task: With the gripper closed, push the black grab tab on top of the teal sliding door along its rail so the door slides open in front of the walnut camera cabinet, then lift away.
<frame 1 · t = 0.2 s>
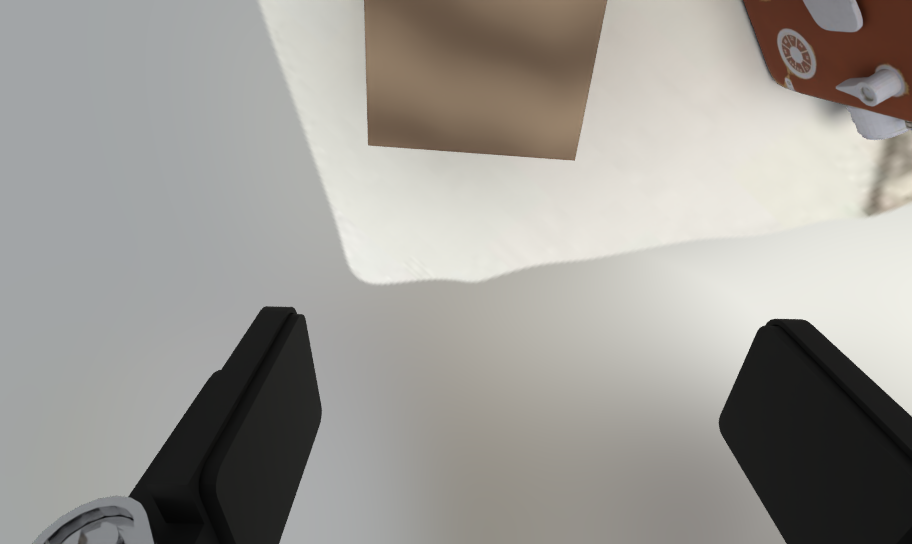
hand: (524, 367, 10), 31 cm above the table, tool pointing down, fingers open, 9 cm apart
cine camera: (797, 5, 33), on the table
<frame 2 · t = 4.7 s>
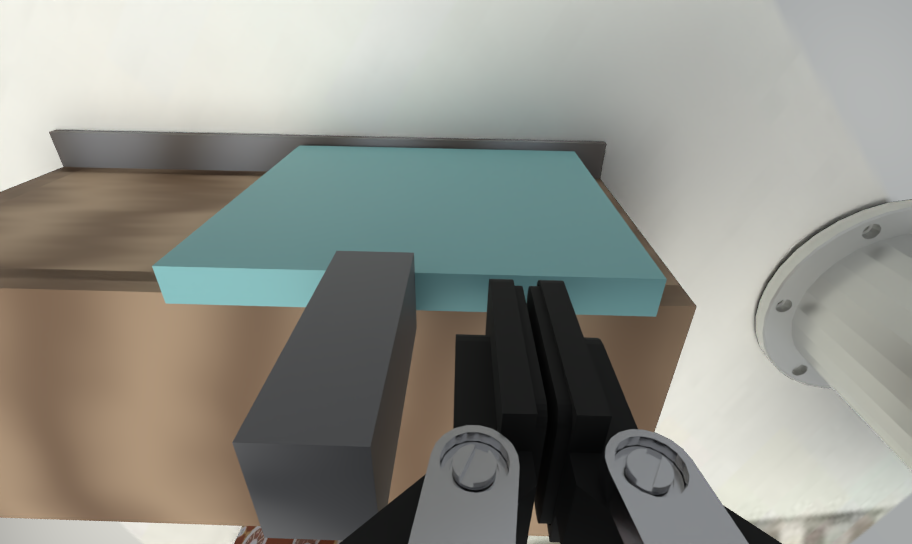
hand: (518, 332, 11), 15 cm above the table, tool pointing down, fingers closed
cabinet: (343, 269, 27), on the table
door: (419, 240, 15), point 10 cm above the table, slide at 1.2 cm, touching gripper
cine camera: (315, 500, 39), on the table
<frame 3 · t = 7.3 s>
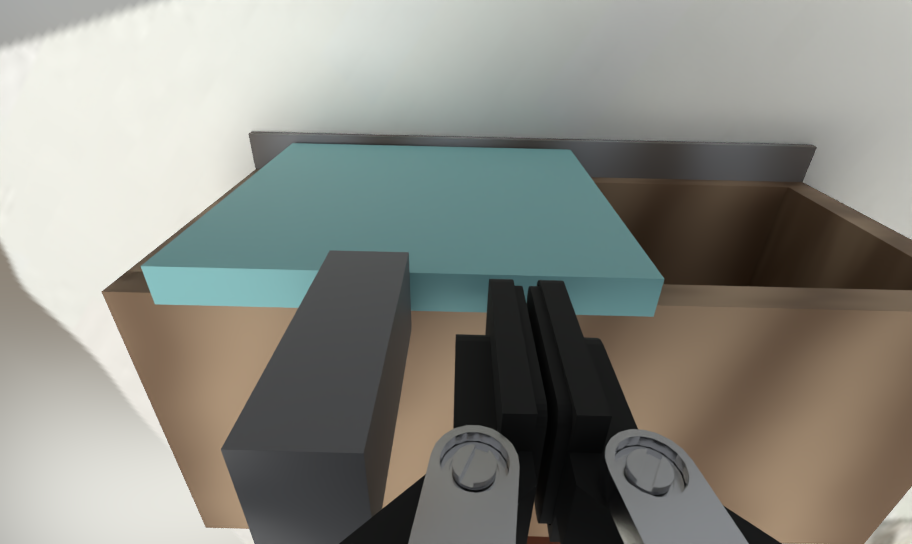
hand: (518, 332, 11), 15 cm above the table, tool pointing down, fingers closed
cabinet: (517, 272, 27), on the table
door: (413, 240, 15), point 10 cm above the table, slide at 11.7 cm, touching gripper
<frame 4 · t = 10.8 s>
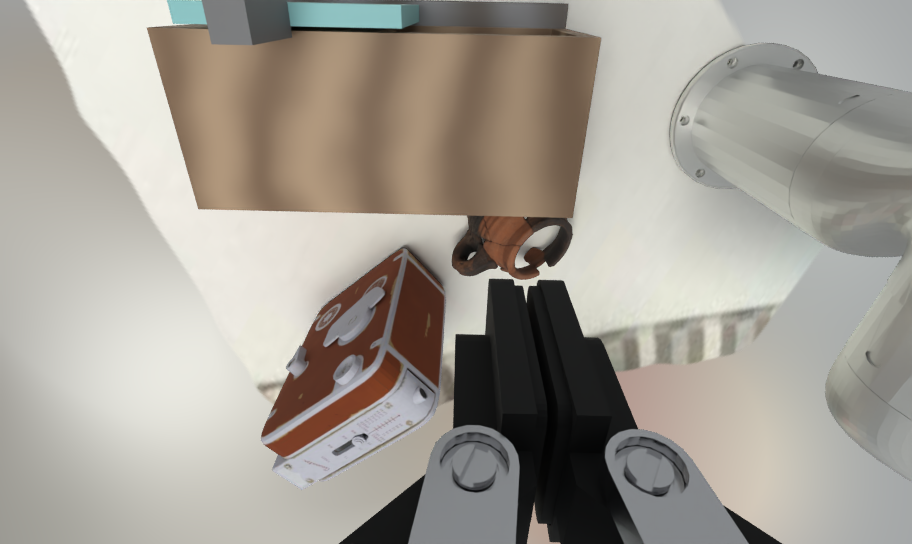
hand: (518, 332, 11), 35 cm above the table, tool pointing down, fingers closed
cabinet: (400, 100, 42), on the table
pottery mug: (503, 220, 48), on the table
door: (301, 13, 30), point 10 cm above the table, slide at 11.7 cm
cine camera: (366, 306, 53), on the table
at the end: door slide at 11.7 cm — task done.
